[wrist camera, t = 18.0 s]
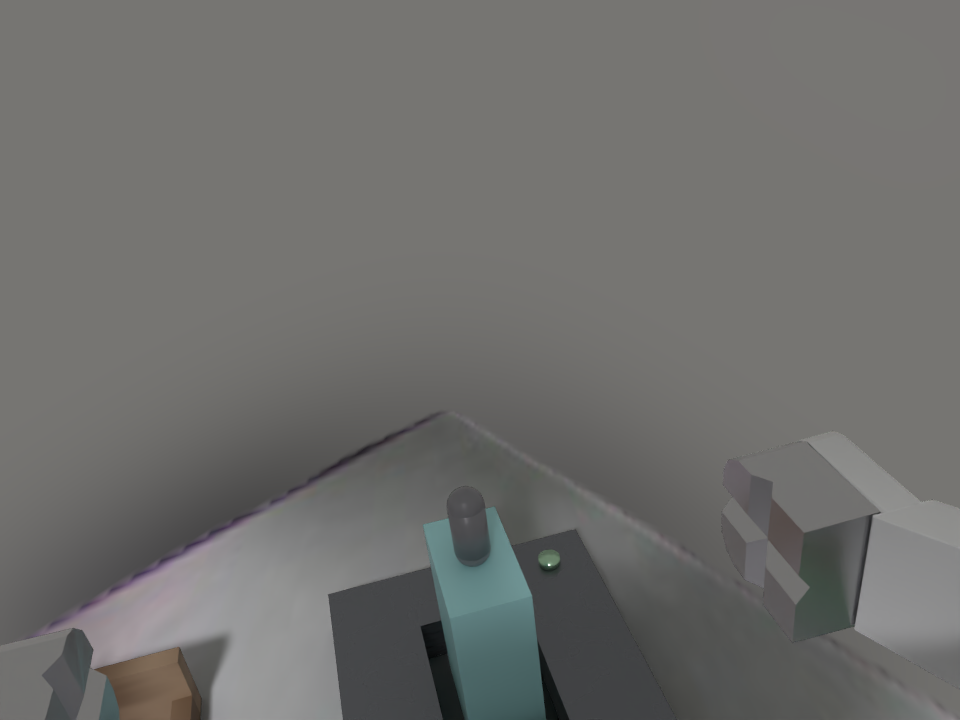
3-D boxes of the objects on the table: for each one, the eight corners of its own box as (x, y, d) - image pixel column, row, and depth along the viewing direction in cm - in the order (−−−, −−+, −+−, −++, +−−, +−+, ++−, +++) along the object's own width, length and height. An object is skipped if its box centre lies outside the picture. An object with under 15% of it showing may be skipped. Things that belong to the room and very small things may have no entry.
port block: (373, 919, 33) (360, 879, 32) (337, 625, 47) (326, 589, 45) (705, 810, 35) (706, 769, 34) (577, 561, 49) (574, 524, 48)
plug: (477, 769, 38) (436, 548, 31) (450, 668, 43) (410, 459, 36) (549, 747, 39) (524, 525, 32) (513, 650, 44) (485, 441, 37)
